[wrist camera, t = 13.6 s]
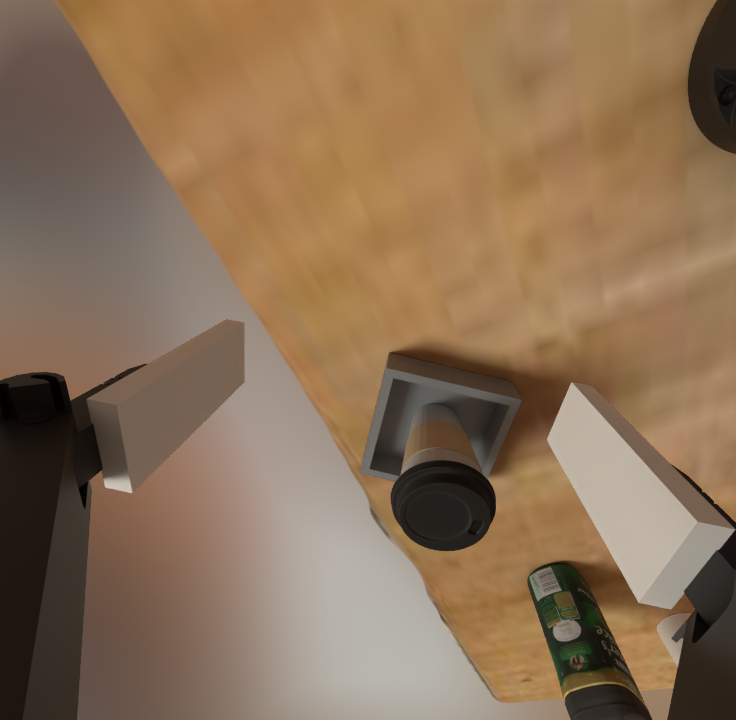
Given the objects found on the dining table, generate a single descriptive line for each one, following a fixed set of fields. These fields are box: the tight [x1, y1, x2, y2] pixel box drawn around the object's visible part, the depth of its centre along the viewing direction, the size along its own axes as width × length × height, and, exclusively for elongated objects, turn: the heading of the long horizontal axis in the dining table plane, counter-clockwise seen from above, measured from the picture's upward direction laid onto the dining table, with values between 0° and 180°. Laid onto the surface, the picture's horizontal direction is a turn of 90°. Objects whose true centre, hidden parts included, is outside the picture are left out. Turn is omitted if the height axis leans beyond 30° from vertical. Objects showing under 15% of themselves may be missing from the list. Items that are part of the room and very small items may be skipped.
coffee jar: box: [527, 564, 652, 720], centre depth 45 cm, size 10×8×19 cm
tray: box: [360, 353, 522, 482], centre depth 43 cm, size 15×15×4 cm
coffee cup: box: [391, 404, 496, 551], centre depth 37 cm, size 9×9×15 cm
